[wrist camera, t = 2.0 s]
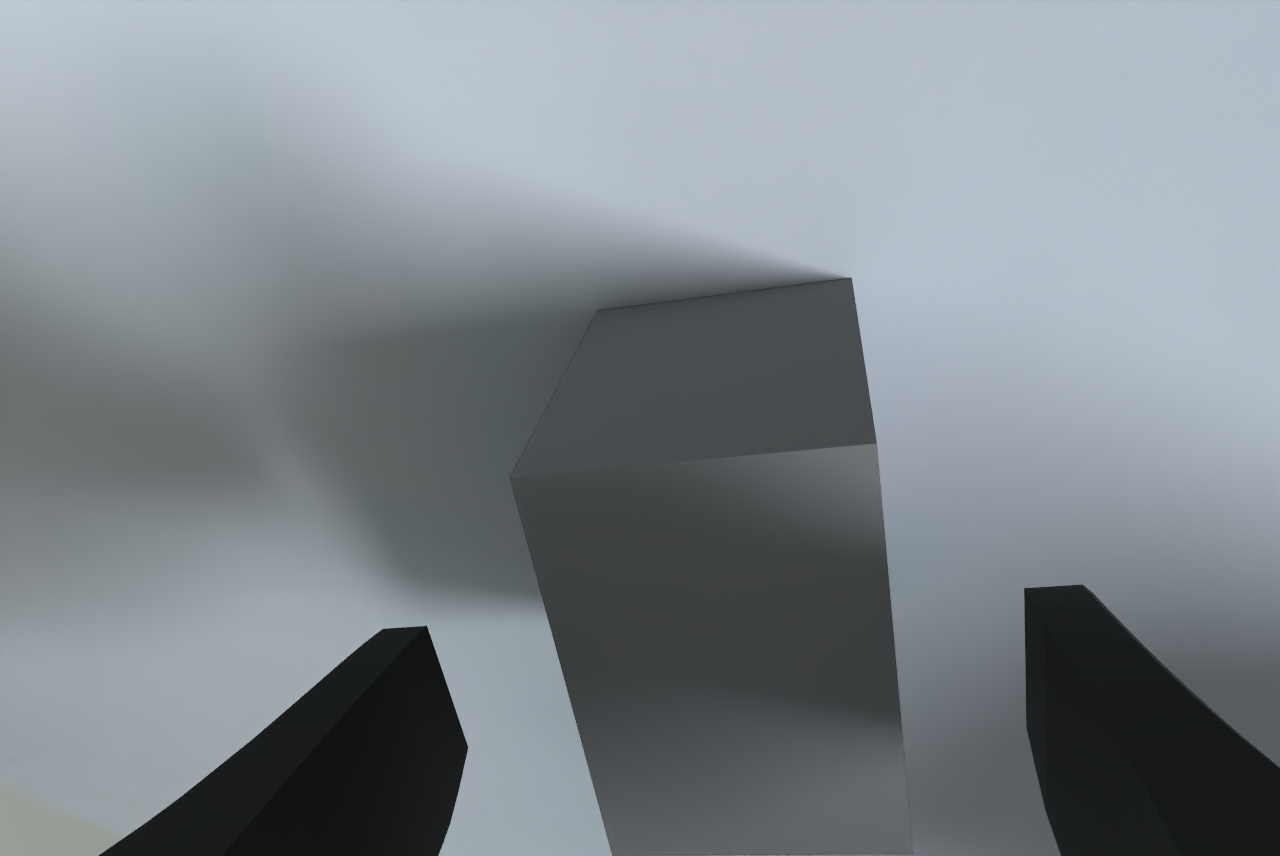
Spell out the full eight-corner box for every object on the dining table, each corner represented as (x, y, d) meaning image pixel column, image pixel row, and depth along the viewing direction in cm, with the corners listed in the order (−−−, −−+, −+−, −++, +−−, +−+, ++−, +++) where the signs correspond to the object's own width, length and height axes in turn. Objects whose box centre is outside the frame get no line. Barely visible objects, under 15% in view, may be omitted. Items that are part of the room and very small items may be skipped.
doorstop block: (881, 597, 18) (912, 853, 13) (661, 610, 18) (612, 856, 13) (851, 276, 15) (876, 444, 10) (598, 308, 16) (509, 477, 11)
